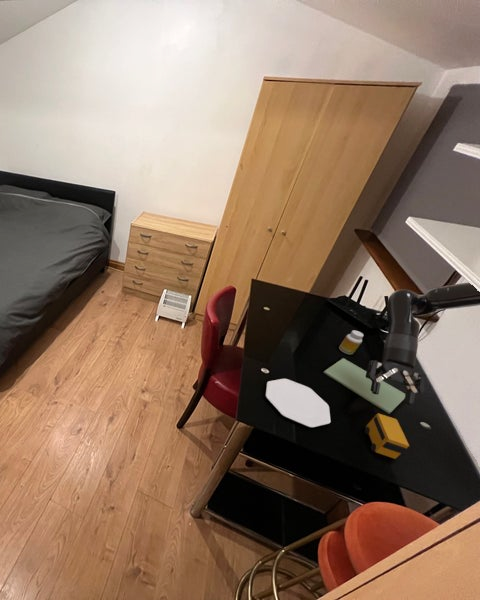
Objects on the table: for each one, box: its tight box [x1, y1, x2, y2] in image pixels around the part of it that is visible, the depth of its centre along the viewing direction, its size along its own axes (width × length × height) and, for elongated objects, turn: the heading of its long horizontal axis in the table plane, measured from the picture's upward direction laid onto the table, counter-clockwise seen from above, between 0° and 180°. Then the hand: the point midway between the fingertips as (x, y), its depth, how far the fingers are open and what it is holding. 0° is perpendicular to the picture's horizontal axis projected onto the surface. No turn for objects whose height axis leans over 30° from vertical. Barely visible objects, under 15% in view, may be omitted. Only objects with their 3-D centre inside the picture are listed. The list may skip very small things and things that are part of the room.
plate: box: [265, 378, 332, 429], centre depth 112 cm, size 20×20×2 cm
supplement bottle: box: [338, 329, 364, 355], centre depth 137 cm, size 5×5×10 cm
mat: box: [323, 357, 406, 415], centre depth 123 cm, size 22×16×1 cm
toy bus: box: [364, 412, 410, 460], centre depth 99 cm, size 10×5×8 cm, turn 157°
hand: (391, 398), depth 101 cm, fingers open, 8 cm apart
